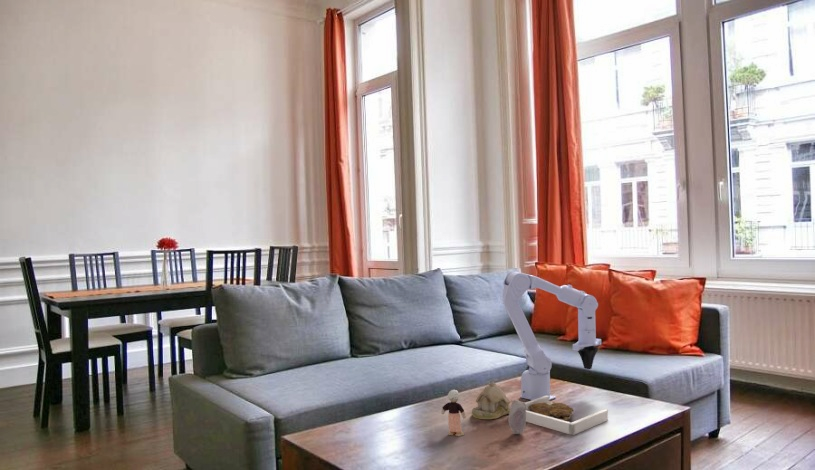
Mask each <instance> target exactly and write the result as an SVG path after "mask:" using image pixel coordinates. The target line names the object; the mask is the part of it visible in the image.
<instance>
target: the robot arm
mask: <svg viewBox="0 0 815 470" xmlns="http://www.w3.org/2000/svg"><path fill="white" fill-rule="evenodd" d="M529 289H530V290H534V289H540V290H543V291H545V292H547V293H550V294H553V295H555V297H556V298H557V300H558V301H559V302H562V303H565V304H567V305H569V306H572V307H575V308H577V321H578V323H577V324H578V325H577V326H578V328H577V329H578V332H577V333H578V336H577V337H578V341H577V342H576V343H573V344H572V351H576V352H578V354H579V357H580V358H581V361H582V364H583V369H586V370H591V369H592V367H593V365H594V360H595V356H596V354H597V352H598V350H599V347H598V346H600V345H602V339H601V338H596V337H597V333H596V330H597V328H596V327H597V326H596V310H597V309H598V307H599V302H598V301H597V298H596V297H595V296H593V295H592V294H587V292H586V291H584V290H578V289H576V288H574V287H573V285H572V284H567V285H566V284H563V285H561V286H559V285H557V284H554V283H552V282H550V281H547V280H546V279H543V278H540V277H538V276H535V275H531V274H527V273H524V272H519V271H516V270H514V271H513V270H512V271H510V272H508V274H507V275H506V276H505V279H504V280H503V289H502V290H503V294H502V304H503V306H504V308H505V310H506V312H507V314H508V316H509V318H510V321H511V323H512V324H513V326H514V329H515V332H516V333H517V336H518V338H519V340H520V342H521V345H522V347H523V348H524V353H525V361H526V364H527V366H528V369H527V370H526V369H525V370H524V371H523V372H522V374H521V377H520V393H521V394H520V395H519V397H520V398H522V399H526V400H529V401H531V400H534V399H537V398H540V397H543V396H549V401H551V400H553V399H556V398H557V397H556V396H555V395H551V373H550V372H551V369H552V367H553V366H552V365H553V364H552V363H553V362H552V360H551V358H550V357H549V356H547V355H546V354H545V352H544V350H543V349H542V347H541V346H540V344H539V342H538V339H537V338H536V336H535V334H534V332H533V330H532V328H531V326H530V324H529V322H528V320H527V318H526V315H525V313H524V311H523V309H522V307H521V304H520V301H521V299H522V297H523V296H524V294H525V293H526V291H528V290H529ZM595 346H596V347H595Z"/></svg>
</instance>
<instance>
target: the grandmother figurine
mask: <svg viewBox="0 0 815 470" xmlns="http://www.w3.org/2000/svg"><path fill="white" fill-rule="evenodd" d="M459 395H460V394H459V391H458V389H451V390H449V392H448V394H447V395H446V398H447V399H448V400H449V402H447V403H445V404H444V405H443V406H442V409H441V412H440V413H441V415H444V414H445V412H446V411H448V419H447V420H448V421H447V423H448V431H449V432H448V434H449V436H455V437H461V436H464V435H465V433H464V431H462V423H461V421H462V420H461V416H462V418H463V419H466V418H467V416H466V412H465V410H464V408H463V406H462V405H461V404H460V403H458V401H459ZM460 414H461V415H460ZM455 433H456V434H455Z"/></svg>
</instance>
